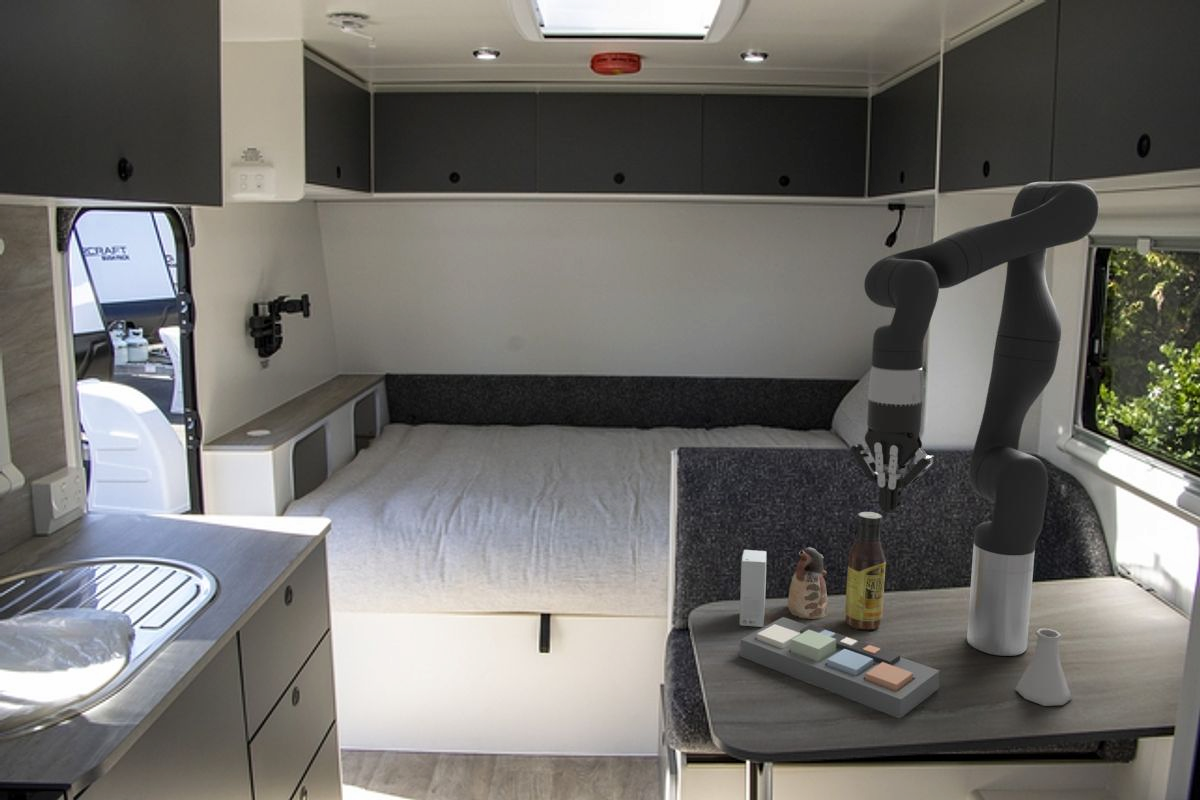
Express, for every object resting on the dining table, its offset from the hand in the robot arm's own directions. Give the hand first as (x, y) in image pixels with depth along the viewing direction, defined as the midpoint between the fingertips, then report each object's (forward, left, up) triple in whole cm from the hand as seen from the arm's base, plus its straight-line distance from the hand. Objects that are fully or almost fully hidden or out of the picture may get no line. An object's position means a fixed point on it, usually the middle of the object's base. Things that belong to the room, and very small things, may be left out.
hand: (889, 511), depth 143 cm
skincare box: (-4, -27, -27) cm, 39 cm away
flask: (-12, +20, -27) cm, 36 cm away
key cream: (+5, -16, -26) cm, 30 cm away
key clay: (+4, +4, -26) cm, 26 cm away
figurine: (-14, -22, -27) cm, 38 cm away
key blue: (+4, -3, -26) cm, 26 cm away
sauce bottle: (-16, -12, -27) cm, 34 cm away
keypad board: (+3, -6, -27) cm, 28 cm away
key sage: (+5, -9, -25) cm, 27 cm away
